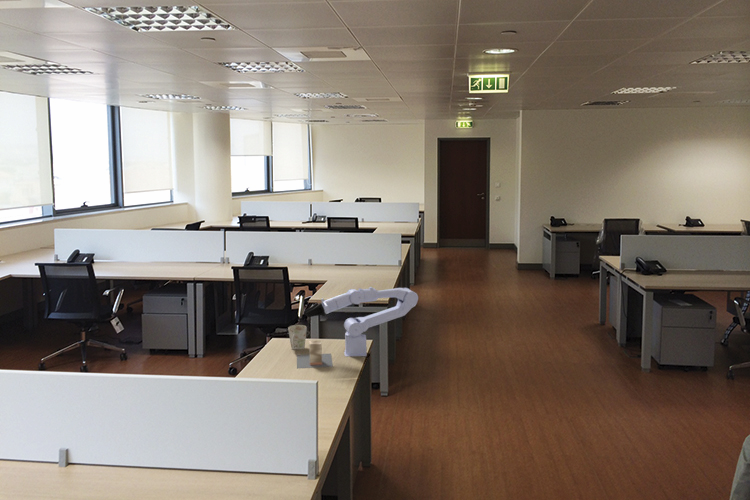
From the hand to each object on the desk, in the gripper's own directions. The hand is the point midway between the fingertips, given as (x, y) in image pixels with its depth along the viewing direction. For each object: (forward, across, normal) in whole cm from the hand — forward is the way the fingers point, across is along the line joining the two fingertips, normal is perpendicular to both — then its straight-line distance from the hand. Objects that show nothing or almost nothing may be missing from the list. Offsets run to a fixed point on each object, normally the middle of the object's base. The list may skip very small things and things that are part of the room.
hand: (305, 314), depth 276 cm
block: (+3, +4, +20) cm, 21 cm away
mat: (+3, +1, +20) cm, 21 cm away
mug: (+7, -18, +16) cm, 25 cm away
